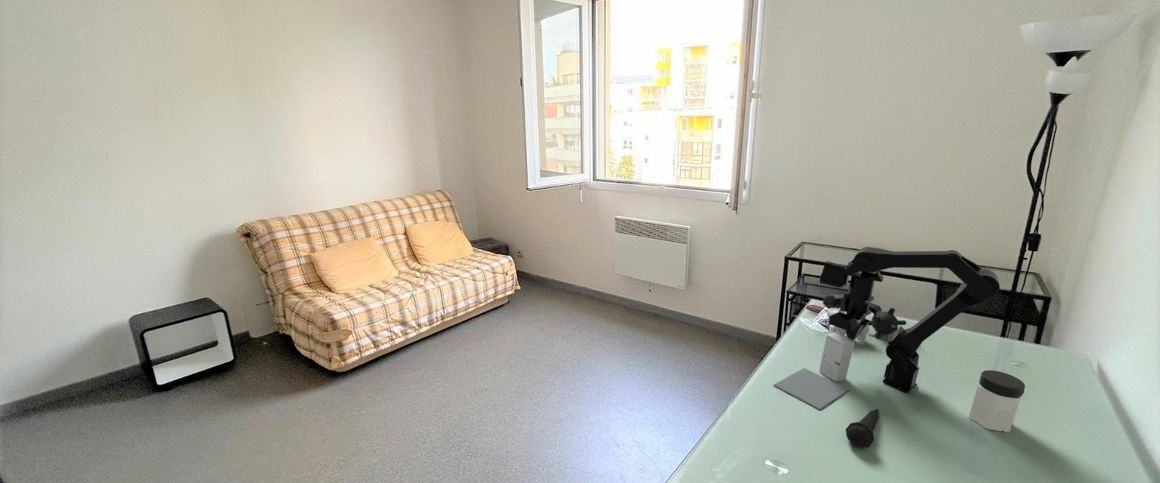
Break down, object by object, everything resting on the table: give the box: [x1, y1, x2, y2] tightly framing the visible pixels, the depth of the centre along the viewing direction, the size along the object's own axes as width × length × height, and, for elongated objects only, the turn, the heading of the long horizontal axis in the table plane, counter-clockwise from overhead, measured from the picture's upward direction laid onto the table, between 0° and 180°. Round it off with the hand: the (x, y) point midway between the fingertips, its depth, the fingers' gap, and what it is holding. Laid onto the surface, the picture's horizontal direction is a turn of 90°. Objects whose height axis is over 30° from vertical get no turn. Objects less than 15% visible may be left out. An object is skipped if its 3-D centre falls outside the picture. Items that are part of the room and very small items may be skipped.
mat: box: [773, 367, 850, 411], centre depth 131 cm, size 13×15×1 cm
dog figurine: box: [826, 308, 870, 345], centre depth 157 cm, size 5×13×11 cm, turn 75°
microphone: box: [845, 408, 880, 449], centre depth 115 cm, size 6×6×20 cm
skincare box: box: [818, 331, 856, 382], centre depth 136 cm, size 6×4×12 cm
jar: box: [968, 369, 1026, 433], centre depth 117 cm, size 9×8×12 cm
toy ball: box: [868, 307, 907, 339], centre depth 161 cm, size 11×11×12 cm
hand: (850, 341), depth 139 cm, fingers closed
